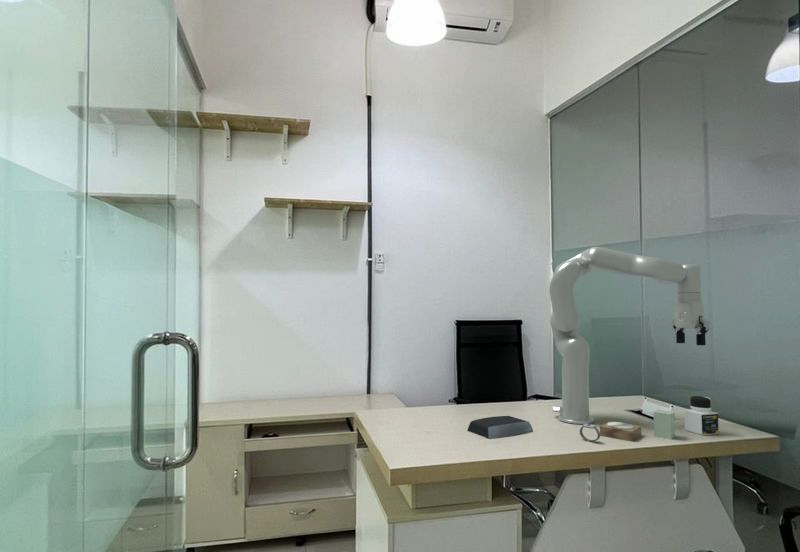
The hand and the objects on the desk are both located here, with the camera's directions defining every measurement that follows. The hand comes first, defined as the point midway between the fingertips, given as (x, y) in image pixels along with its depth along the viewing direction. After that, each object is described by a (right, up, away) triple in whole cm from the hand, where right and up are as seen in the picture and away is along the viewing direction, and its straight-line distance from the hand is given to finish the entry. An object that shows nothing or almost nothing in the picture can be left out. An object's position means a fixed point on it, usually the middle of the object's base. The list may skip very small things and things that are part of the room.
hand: (690, 344), depth 175 cm
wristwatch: (-47, -28, -24) cm, 59 cm away
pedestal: (-34, -28, -17) cm, 47 cm away
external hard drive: (-73, -29, -13) cm, 79 cm away
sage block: (-19, -28, -18) cm, 38 cm away
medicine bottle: (-4, -29, -12) cm, 31 cm away
